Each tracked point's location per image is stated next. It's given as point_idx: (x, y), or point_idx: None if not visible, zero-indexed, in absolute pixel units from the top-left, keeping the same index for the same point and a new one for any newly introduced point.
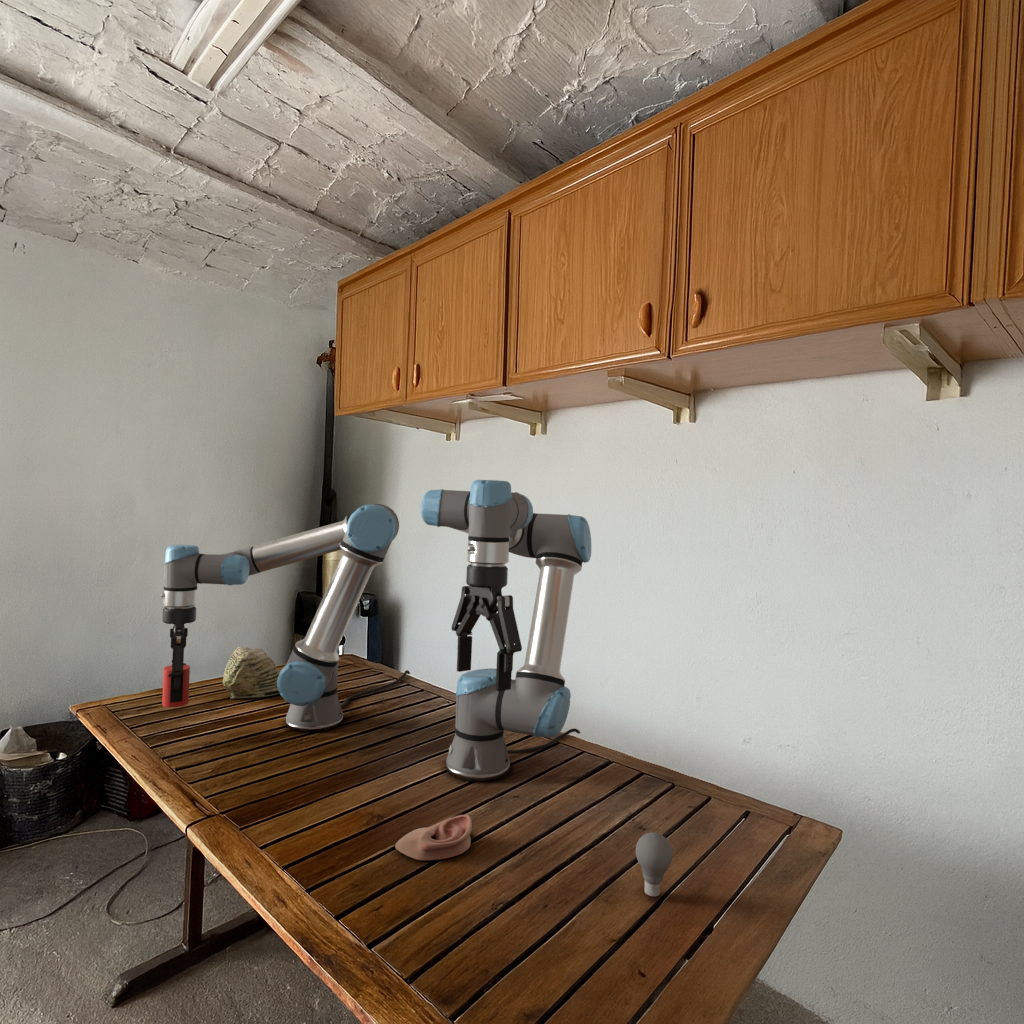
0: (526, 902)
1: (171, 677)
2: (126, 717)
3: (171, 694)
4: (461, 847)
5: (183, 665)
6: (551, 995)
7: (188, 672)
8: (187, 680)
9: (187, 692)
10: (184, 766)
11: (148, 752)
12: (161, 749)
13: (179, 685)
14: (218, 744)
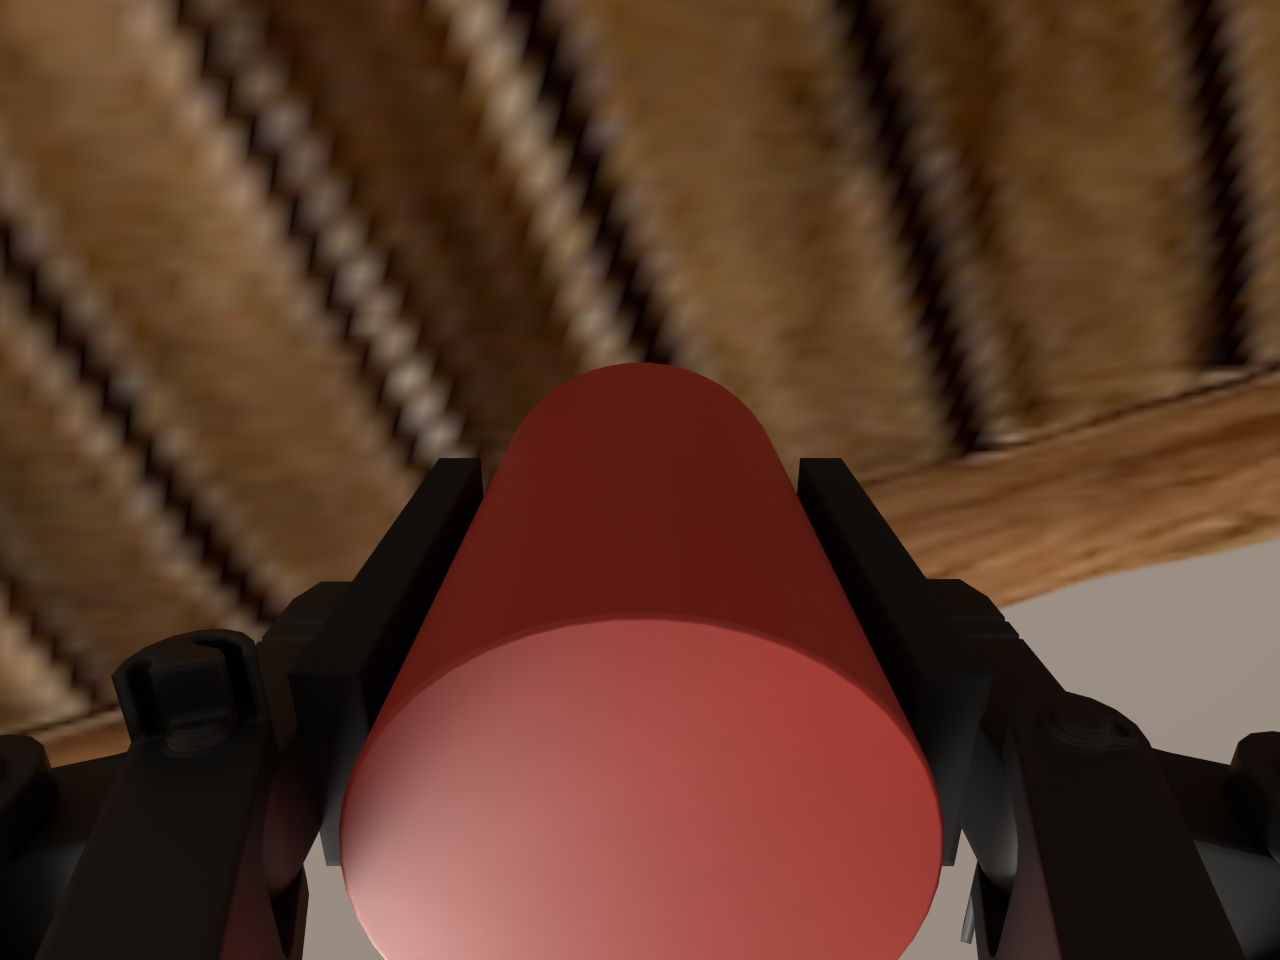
0: None
1: (946, 839)
2: (55, 684)
3: None
4: None
5: (468, 752)
6: None
7: (765, 575)
8: (764, 510)
9: (728, 425)
10: (1207, 314)
11: None
12: (793, 462)
13: (1006, 627)
14: (882, 33)
